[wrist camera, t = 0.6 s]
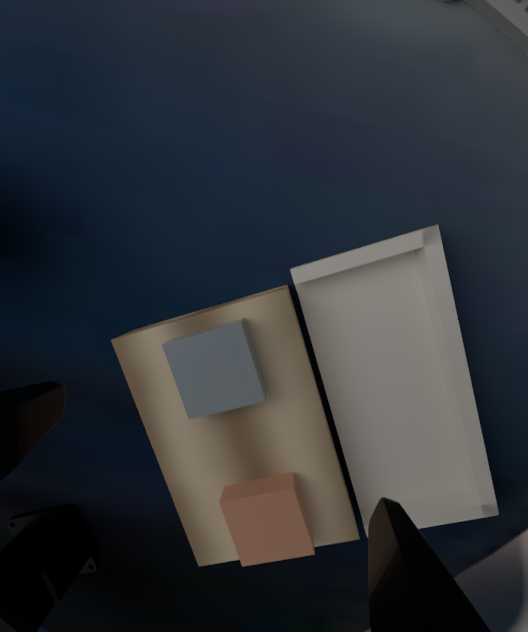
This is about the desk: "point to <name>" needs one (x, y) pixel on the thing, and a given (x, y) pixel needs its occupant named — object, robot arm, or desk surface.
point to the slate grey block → (216, 369)
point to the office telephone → (505, 18)
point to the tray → (398, 378)
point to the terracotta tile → (267, 519)
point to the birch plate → (239, 425)
